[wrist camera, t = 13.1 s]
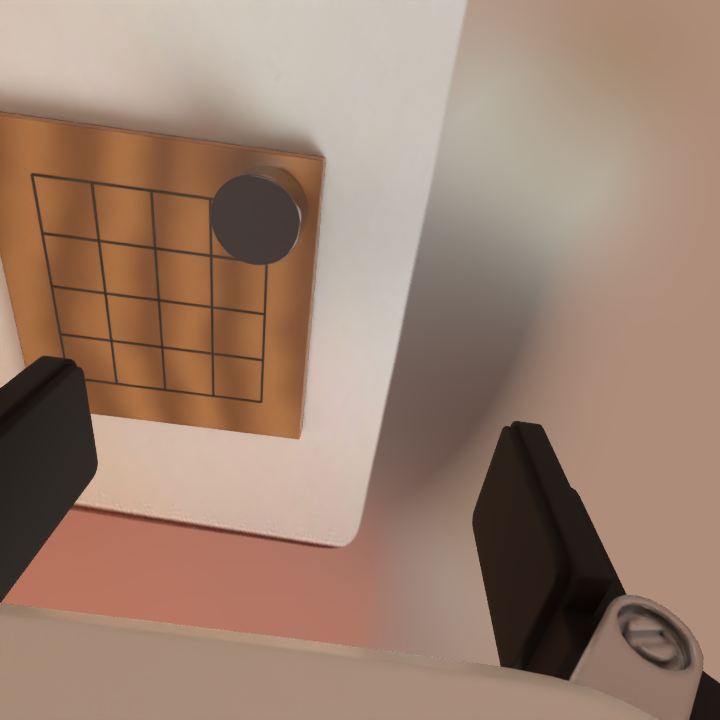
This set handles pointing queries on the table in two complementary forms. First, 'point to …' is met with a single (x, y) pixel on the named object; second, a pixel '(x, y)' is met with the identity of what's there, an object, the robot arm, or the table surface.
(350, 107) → the table surface
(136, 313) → the board
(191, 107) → the table surface
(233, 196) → the dark brown puck
